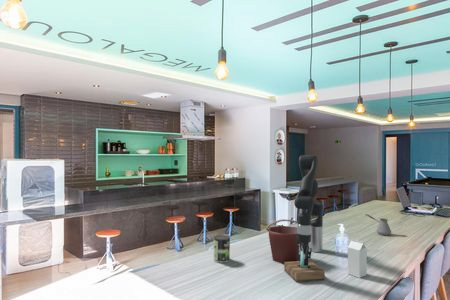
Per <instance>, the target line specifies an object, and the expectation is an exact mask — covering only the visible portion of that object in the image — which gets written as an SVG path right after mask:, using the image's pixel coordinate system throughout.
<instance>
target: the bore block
mask: <svg viewBox="0 0 450 300" xmlns="http://www.w3.org/2000/svg"><path fill="white" fill-rule="evenodd" d="M283 265H284V266H283V267H284V272H285V273H286V274H287V275H288V276H289V277H290V278H291V279H292V280H293V281H294V282H295V283H304V282H305V283H306V282H319V281H326V279H325V275H326V274H325V272H326V271H325V269H323V268H321V267H320V266H319V265H317V264H316V263H315V262H313V261H312V260H308V268H300V260H298V261H294V262H285V264H283Z"/></svg>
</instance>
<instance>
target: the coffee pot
mask: <svg viewBox="0 0 450 300" xmlns="http://www.w3.org/2000/svg"><path fill="white" fill-rule="evenodd" d="M365 216H367V217H369V218H370V219H372V220H374V221H376V222H378V226H377V227H376V230H375V232H376V233H377V234H378V235H379V236H386V237H387V236H390V235H391V234H392V230H391V227H390V225H389V223H388V221H389V219H388V218H379V220H378V219H376V218H375V217H373V216H371V215H369V214H367V213H365Z"/></svg>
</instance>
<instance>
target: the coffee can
mask: <svg viewBox="0 0 450 300" xmlns="http://www.w3.org/2000/svg"><path fill="white" fill-rule="evenodd" d="M230 240H231V237H230V236H229V235H224V234H223V235H221V234H220V235H215V236H213V261H214V262H216V263H219V264H220V263H221V264H222V263H223V264H224V263H228V262H230V260H231V258H230V257H231V256H230V253H231V252H230V251H231V250H230V249H231V248H230V247H231V245H230V243H231V241H230Z"/></svg>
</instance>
